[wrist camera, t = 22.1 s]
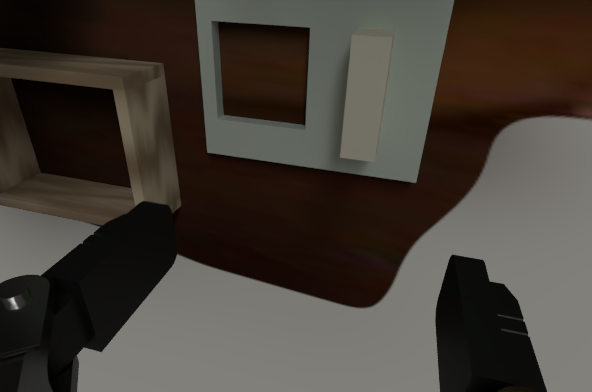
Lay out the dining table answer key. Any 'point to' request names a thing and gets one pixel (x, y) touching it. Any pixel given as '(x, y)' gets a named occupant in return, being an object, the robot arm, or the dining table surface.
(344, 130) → the lid
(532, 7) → the dining table surface
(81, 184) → the wooden frame
